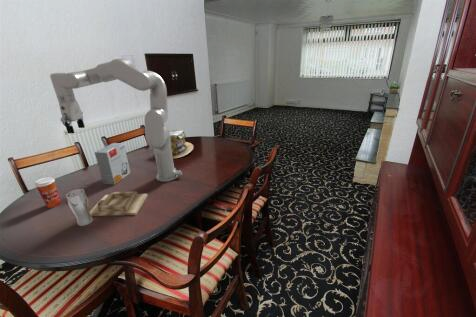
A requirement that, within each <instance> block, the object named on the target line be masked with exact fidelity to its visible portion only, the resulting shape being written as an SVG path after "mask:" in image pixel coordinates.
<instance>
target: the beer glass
mask: <svg viewBox="0 0 476 317" xmlns="http://www.w3.org/2000/svg"><path fill="white" fill-rule="evenodd" d="M65 197H66V201H67V203H68V206H69V209H70V210H71V212H72V213H73V214H74V216H75V218H76V222H77V223H76V224H77V226H79V227H83V226H88V225H90V224H91V223H92V222H93V221H94V216H91V214H90V211H91V210H90V203H89V199H88V196H87V194H86V192H85V189H82V188H81V189H80V188H79V189H77V188H76V189H74V190H71V191H69V192H68V193H66V194H65Z"/></svg>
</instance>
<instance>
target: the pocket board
mask: <svg viewBox="0 0 476 317" xmlns="http://www.w3.org/2000/svg"><path fill="white" fill-rule="evenodd" d="M147 197H148V193H138V192H137V191H111V192H110V193H109V194H105V195H103V197H102V198H101V199H100V200H99V201H98V202H97V203H96V204H95V205H94V206H93V208H92V209H91V210H90V214H91V216H92V217H97V216H98V217H100V216H102V217H103V216H105V217H106V216H136V215H137V214H138V212H139V210H140V209H141V207H142V206H143V204H144V202H145V201H146V200H147Z"/></svg>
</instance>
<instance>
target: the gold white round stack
mask: <svg viewBox="0 0 476 317" xmlns="http://www.w3.org/2000/svg"><path fill="white" fill-rule="evenodd" d="M168 130H169V132H170V138H171V149H172V156H173V159H178V158H183V157H185V156H187V155H189V153H191V152H192V151H193V150H194V144H192V143H191V142H188V141H186V137H187V136H186V135H187V134H186V133H185V131H184V130H174V129H168Z"/></svg>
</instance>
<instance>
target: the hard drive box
mask: <svg viewBox="0 0 476 317" xmlns="http://www.w3.org/2000/svg"><path fill="white" fill-rule="evenodd" d="M94 155H95V158H96V161H97V162H96V163H97V165H98V169H99V173H100V177H101V179H102V180H101V181H102V184H104V185H114V186H115V185H116V184H118V183H119V182H120V181H121V180H123V179H124V178H126V177H127V176H128V175H130V174H131V169H130V165H129V161H128V156H127V151H126V146H125V143H121V142H112V143H110V144H108V145H106V146H104V147H102V148H101V149H99V150H96V151H95V152H94Z"/></svg>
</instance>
